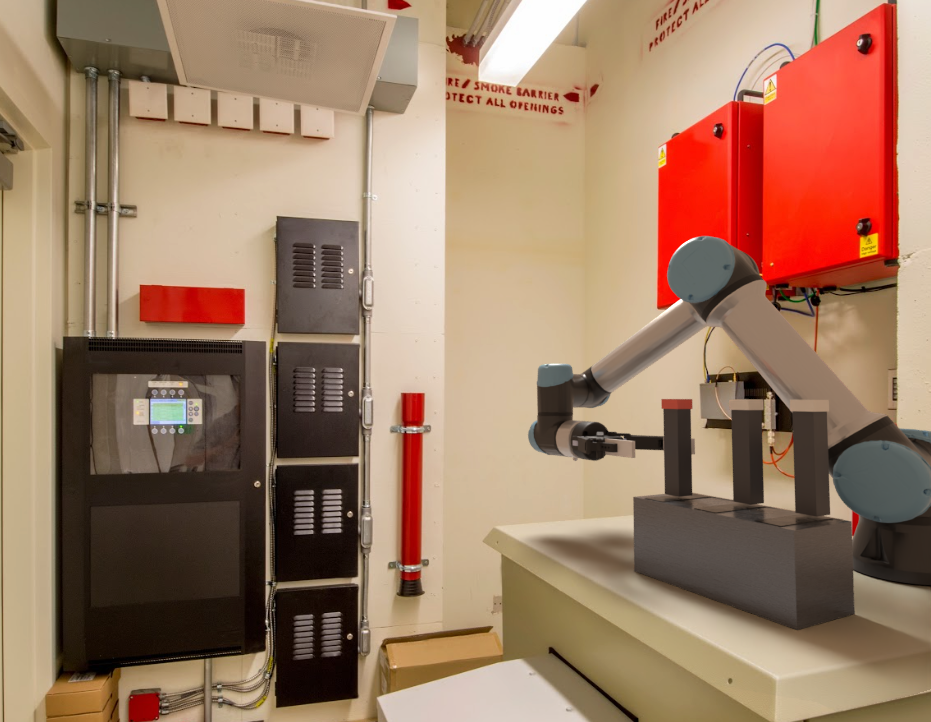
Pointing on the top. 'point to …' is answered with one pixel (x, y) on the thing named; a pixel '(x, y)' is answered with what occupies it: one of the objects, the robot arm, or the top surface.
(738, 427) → the post
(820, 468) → the post
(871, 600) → the top surface
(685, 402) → the post
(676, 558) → the dark grey block
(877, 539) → the robot arm
